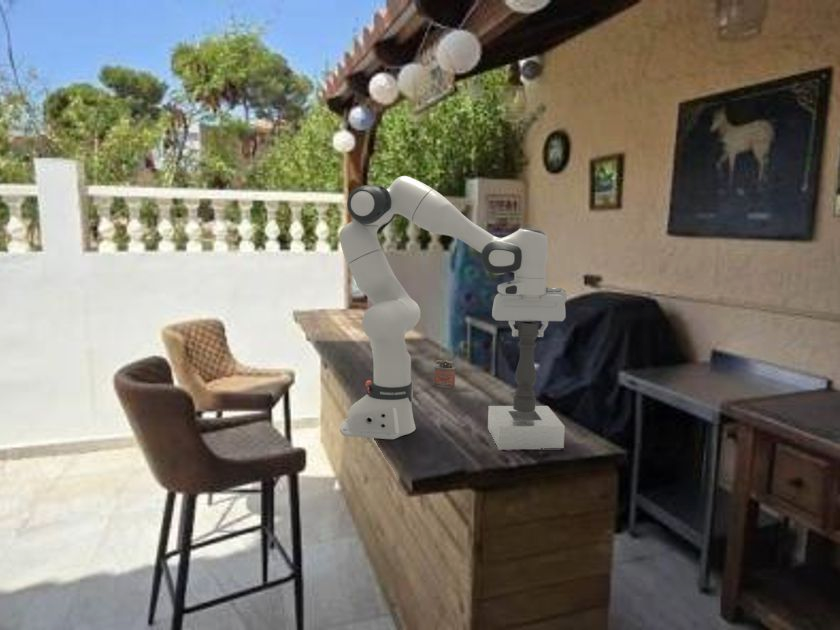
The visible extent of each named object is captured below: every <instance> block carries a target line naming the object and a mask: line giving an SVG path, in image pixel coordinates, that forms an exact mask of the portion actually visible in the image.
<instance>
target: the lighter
mask: <svg viewBox="0 0 840 630" xmlns="http://www.w3.org/2000/svg"><path fill="white" fill-rule="evenodd" d="M435 364H437V365H435V366H433V367H434V384H433V386H434V387H435V388H441V389H442V388H443V389H445V388H446V389H456V383H455V382H456V381H455V380H456V367H455V366H453V361H449V360H444V361H443V360H438V359H437V360H436V363H435Z"/></svg>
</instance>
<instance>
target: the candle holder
mask: <svg viewBox="0 0 840 630" xmlns="http://www.w3.org/2000/svg"><path fill="white" fill-rule="evenodd" d="M517 330H518V331H519V333H518V337H519V340H520V341H519V342H518V343H517V346H518V347H519V360H518V363H517V367H516V370H515V374H514V379H515V381H516V383H517V388H516V390H515V391H514V394H515V395H514V396H513V405H512V406H513V409H514V410H517V411H521V412H532V411H534V410H535V406H536V397H535V395H536V392H535V390H534V389H533V387H534V384H535V383H536V381H537V372H536V366H535V360H534V356H535V355H534V354H535V348H536V347H537V343H536V342H535V341H536V339H537V338H538V336H537V335H538V330H539V321H518V322H517Z"/></svg>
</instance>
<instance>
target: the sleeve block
mask: <svg viewBox="0 0 840 630" xmlns="http://www.w3.org/2000/svg"><path fill="white" fill-rule="evenodd" d="M487 416H488V417H487V430H488V431H489V434H490V433H491V434H490V436H491V435H492V436H491V438H492V437H493V438H492V440H493V439H494V440H493V442H494V441H495V442H494V444H495V443H496V445H497V447H498V449H541V448H543V449H544V448H564V449H565V447H564V446H565V432H566V431H565V429H566V426H565V425H564V423H563V422H562V421H561V420H560V419H559V418H558V416H557V415H556V414H555V413H554V412H553V410H552V409H551V408H550V407H549V406H548V405H535V410H534V411H532V412H521V411H517V410H514V409H513V405H488V413H487ZM496 445H495V446H496ZM497 447H496V448H497ZM498 449H497V450H498Z"/></svg>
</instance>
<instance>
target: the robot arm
mask: <svg viewBox="0 0 840 630" xmlns="http://www.w3.org/2000/svg"><path fill="white" fill-rule="evenodd" d="M346 206H347V211H348V213H349V215H350V217H351V218H352V219H351V220H352V221H350V222H348V223H346V224H345V225H344V226H343V227H342V228H341V229H340V232H339V235H338V237H339V244H340V246H341V251H342V252H343V255H344V259H345V262H346V263H347V265H348V269H349V270H350V273H351V275H352V277H353V279H354V282H355V284H356V286H357V288H358V289H359V291H360V292H362V293H363V294H364V295H365V296H366V297H367V299H369V301H370V302H371V303H372V306H371V307H369V308H368V309H367V310H366V311H365V312H364V313H363V316H362V319H361V325H362V330H363V332H364V334H365V336H367V337H368V340H369V343H370V347H371V353H372V359H373V364H372V365H373V381H372V380H370V379H369V380H367V381H366V382H365V387H366V394H365V395H364V396H362V398H360V399H359V400H357V401H355V402H354V403H353V404H352V405H351V407H350V408H349V411H348V414H347V417H346V418H345V419H344V420H343V421H342V422H340V427H339V432H340V433H341V435H343V436H345V437H351V438H353V437H354V438H367V439H369V438H370V439H383V440H395V439H397V438H400V437H402V436H405V435H409V434H411V433H413V432H415V430H416V427H417V426H416V424H415V420H414V415H413V408H412V407H413V406H412V402H413V382H412V381H411V380H412V377H411V376H412V356H411V354H410V353H409V352H408V347H407V343H406V339H405V337H406V336H405V335H406V333H408V332H411V331H412V330H413V329H414V328H415V327H416V326H417V324H418V323H419V321H420V319H421V309H420V306H419V305H418V303H417V302H416V301H415V300H414V299H412V298H411V296H410V295H409V294H408V292H407V291H406V290H405V288H404V287H403V285H402V284H401V283H400V282H399V279H398V278H397V277H396V275H395V274H394V271H393V269H392V268H391V266H390V264H389V263H390V262H389V261H388V259H387V257H386V254H385V253H384V250H383V248H382V245H381V243H380V241H379V239H378V233H380V232H382V230H384V229H385V228H386V227H387V226H388V225H389V224H390V223H392V222H393V220H394V219H395V216H396V215H400V216H402V217H404V218H406V219H407V220H408V221H410V222H411V223H413V224H414V225H416V226H417V227H419V228H420V229H422V230H425V231H427V232H430V233H432V234H436V235H443V236H449V237H452V238H455V239H457V240H460V241H461V242H463V243H465V244H466V245H468V246H470V247H471V248H473V250H476V251H477V252H478V253H480V262H481V264H482V266H483V268H484V269H485V270H486V271H487V272H489V273H490V274H493V275H504V274H507V273H514V276H513V277H514V279H513V280H511V281H506V282H503V283H500V284H497V287H496V289H497V292H498V293H497V294H496V295H495V296H494V299H493V303H492V304H493V305H492V309H491V311H492V312H491V316H492V318H493V319H494V320H495V321H502V322H503V321H505V322H506V321H507V322H508V325H509V327H510V329H511V336H512V337H513V338H515V337H519V334H518V333H519V331H518V328H517V329H516V328H515V326H514V325H515V324H516V322H517V321H518V322H519V321H534V322H541V323H540V324H541V327H540V329H538V335H537V338H544V332H545V330H546V329H547V327H548V326H549V322H563V321H564V320H565V319H566V302H567V292H566V290H564V289H562V287H547V279H548V276H547V271H546V269H547V264H548V260H549V242H548V237H547V235H546V233H544V232H543V231H542V230H538V229H534V228H529V227H519V229H518V230H516V231H514V232H513V233H511V234H508V235H507V236H504V237H501V236H496V235H494V234H492V233H491V232H489V231H487V230H486V229H484V228H482V227H481V226H480V225H478V224H477V223H474V222H473V221H472V220H471V219H469V218H468V217H466V216H465V215H464V214H463V213H462V212H461V211H460V210H459V209H458V208H457V207H456V206H455V205H454V204H453V203H451V202H450V200H448V199H447V198H446V197H445V196H443V194H441V193H440V192H438V191H437V190H435V188H432V187H430V185H427V184H425V183H424V182H422V181H420V180H418V179H415V178H412V177H410V176H407V175H402V176H399V177H397V178H396V179H394V180H393V181H392V183H391V184H390V185H389V187H388V188H386V187H385V186H383V185H369V184H368V185H361V186H358V187H355V189H353V190H352V191H351V193H349V196H348V198H347V204H346Z"/></svg>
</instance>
